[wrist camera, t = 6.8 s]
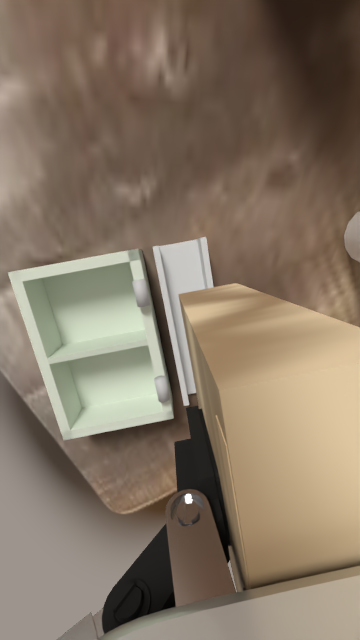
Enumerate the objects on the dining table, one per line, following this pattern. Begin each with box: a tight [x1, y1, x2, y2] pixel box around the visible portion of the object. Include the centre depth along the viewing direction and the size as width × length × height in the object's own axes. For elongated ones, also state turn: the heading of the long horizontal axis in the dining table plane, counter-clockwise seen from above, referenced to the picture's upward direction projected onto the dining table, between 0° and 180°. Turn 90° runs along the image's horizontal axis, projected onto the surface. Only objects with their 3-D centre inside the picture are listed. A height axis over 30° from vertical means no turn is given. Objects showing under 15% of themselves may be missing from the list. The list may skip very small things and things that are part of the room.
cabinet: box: [8, 237, 213, 440], centre depth 28 cm, size 19×18×6 cm
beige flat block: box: [178, 283, 360, 592], centre depth 10 cm, size 3×12×10 cm, turn 10°
